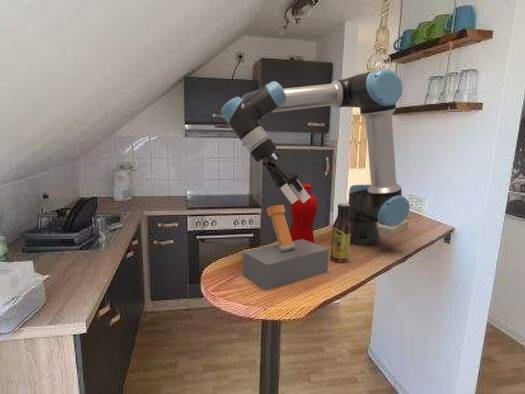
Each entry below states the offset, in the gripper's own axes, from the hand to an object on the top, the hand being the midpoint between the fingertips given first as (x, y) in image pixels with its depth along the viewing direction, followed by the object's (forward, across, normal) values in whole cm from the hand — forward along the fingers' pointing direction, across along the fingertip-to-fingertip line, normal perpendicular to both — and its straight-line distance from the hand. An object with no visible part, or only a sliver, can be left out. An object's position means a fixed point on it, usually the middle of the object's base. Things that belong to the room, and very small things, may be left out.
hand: (300, 201), depth 107 cm
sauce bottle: (+26, -12, +1) cm, 29 cm away
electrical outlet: (+43, -46, +37) cm, 73 cm away
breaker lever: (+9, -1, -12) cm, 15 cm away
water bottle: (+17, -22, -6) cm, 28 cm away
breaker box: (+15, -3, -17) cm, 23 cm away
